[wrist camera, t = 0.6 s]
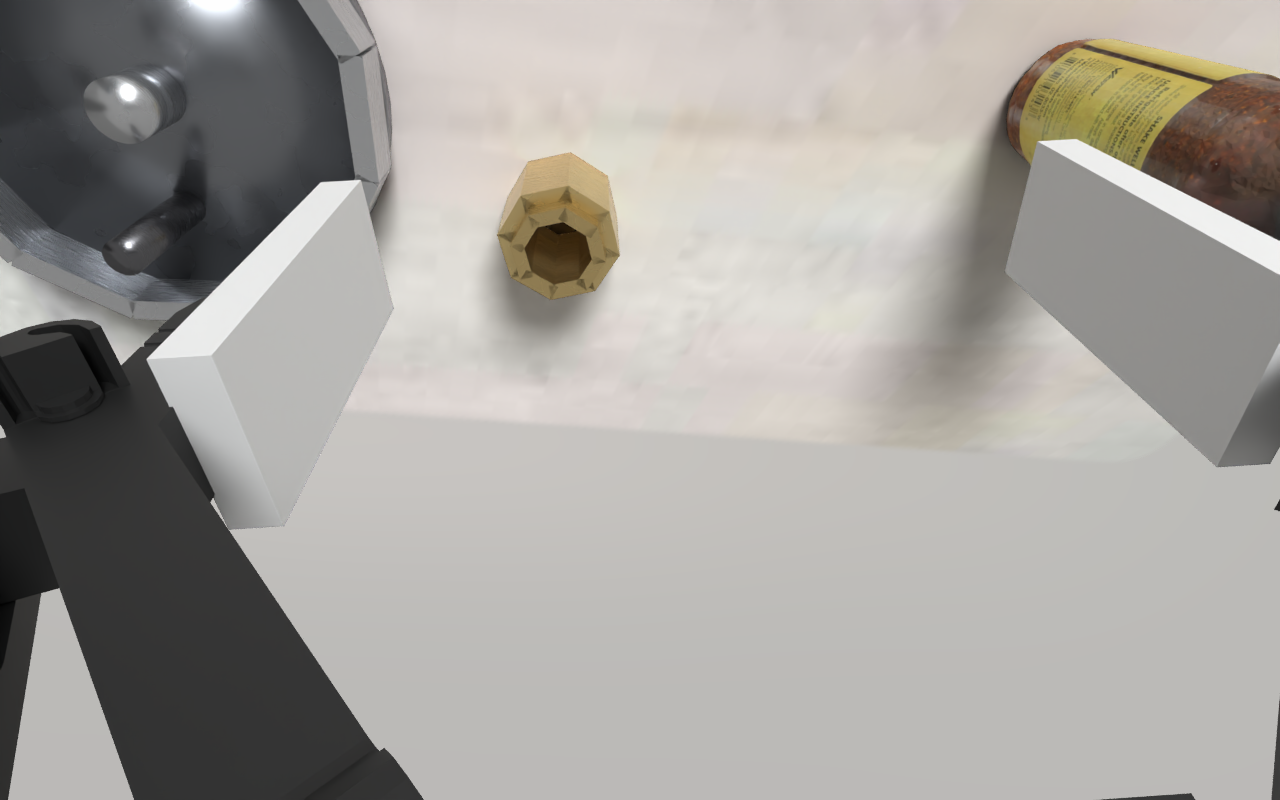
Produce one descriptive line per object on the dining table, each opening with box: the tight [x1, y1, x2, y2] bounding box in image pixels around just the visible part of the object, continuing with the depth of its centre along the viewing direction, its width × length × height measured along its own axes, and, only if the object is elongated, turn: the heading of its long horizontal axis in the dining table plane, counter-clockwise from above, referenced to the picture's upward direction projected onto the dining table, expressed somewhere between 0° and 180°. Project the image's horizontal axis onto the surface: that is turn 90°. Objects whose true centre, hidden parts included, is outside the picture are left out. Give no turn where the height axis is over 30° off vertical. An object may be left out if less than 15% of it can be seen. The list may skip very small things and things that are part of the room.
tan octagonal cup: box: [497, 153, 620, 300], centre depth 36 cm, size 5×5×6 cm
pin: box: [102, 191, 206, 276], centre depth 34 cm, size 2×2×7 cm
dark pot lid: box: [0, 0, 392, 320], centre depth 32 cm, size 20×20×4 cm
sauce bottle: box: [1006, 39, 1280, 241], centre depth 28 cm, size 6×6×20 cm
